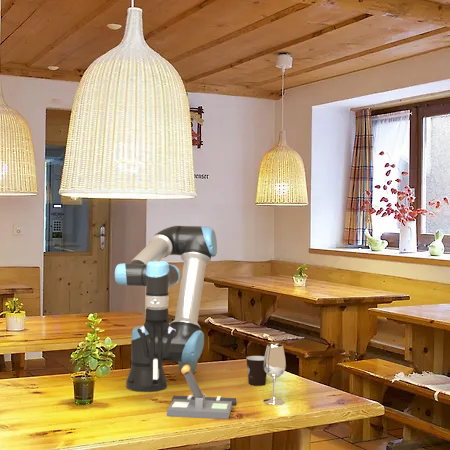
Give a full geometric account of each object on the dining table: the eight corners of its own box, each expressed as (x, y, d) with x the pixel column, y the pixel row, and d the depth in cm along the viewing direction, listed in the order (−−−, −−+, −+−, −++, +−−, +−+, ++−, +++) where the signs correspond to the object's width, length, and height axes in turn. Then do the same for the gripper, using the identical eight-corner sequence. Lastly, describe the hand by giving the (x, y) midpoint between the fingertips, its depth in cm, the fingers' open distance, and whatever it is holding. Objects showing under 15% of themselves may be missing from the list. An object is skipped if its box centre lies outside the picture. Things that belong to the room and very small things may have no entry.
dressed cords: (171, 403, 259) (171, 397, 259) (173, 399, 264) (173, 394, 264) (235, 406, 257) (235, 400, 257) (236, 402, 262) (236, 396, 262)
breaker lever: (196, 404, 248) (179, 369, 248) (198, 401, 252) (181, 366, 252) (204, 401, 247) (186, 365, 248) (205, 398, 251) (188, 363, 251)
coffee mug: (266, 387, 284) (267, 361, 284) (244, 385, 286) (244, 359, 286) (270, 380, 296) (271, 355, 295) (249, 379, 297) (249, 353, 297)
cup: (195, 376, 301) (195, 351, 301) (176, 374, 302) (176, 350, 302) (198, 371, 309) (199, 347, 308) (180, 370, 310) (180, 346, 310)
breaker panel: (166, 416, 243) (167, 400, 243) (173, 404, 257) (173, 389, 257) (228, 418, 242) (228, 402, 242) (231, 407, 256) (232, 392, 255)
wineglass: (289, 402, 264) (290, 345, 263) (275, 406, 258) (276, 348, 257) (272, 398, 269) (273, 342, 268) (258, 402, 263) (259, 345, 262)
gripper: (135, 308, 247) (134, 380, 247) (174, 310, 246) (173, 381, 246) (139, 305, 254) (138, 375, 255) (178, 307, 253) (177, 376, 254)
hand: (155, 378), depth 251 cm, fingers closed
